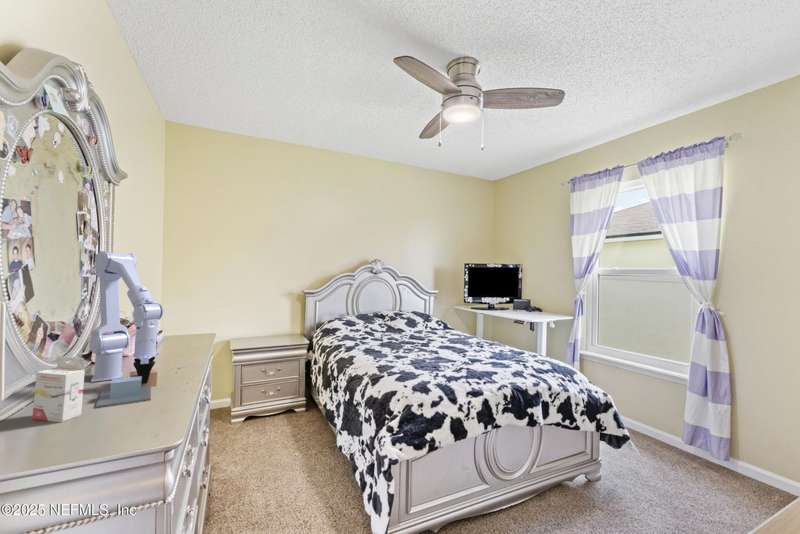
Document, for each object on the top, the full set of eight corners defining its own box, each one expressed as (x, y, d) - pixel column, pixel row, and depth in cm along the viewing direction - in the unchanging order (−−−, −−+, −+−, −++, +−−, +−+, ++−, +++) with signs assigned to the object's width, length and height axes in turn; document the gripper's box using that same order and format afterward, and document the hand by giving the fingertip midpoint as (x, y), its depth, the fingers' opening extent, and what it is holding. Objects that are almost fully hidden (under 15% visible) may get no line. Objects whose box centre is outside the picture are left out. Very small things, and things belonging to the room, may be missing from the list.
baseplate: (101, 393, 103) (101, 391, 103) (150, 387, 110) (150, 385, 110) (95, 408, 91) (95, 405, 91) (150, 400, 99) (150, 398, 99)
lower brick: (111, 394, 100) (112, 379, 100) (140, 390, 104) (141, 376, 105) (109, 399, 97) (110, 383, 97) (140, 395, 101) (141, 379, 101)
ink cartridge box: (30, 420, 83) (35, 359, 83) (52, 412, 88) (57, 355, 88) (61, 423, 82) (66, 361, 83) (82, 415, 87) (87, 357, 88)
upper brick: (129, 385, 110) (130, 372, 111) (155, 382, 115) (156, 369, 115) (129, 389, 107) (130, 375, 107) (156, 385, 112) (157, 372, 112)
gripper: (161, 342, 108) (158, 385, 108) (160, 335, 120) (157, 374, 119) (133, 344, 104) (130, 388, 103) (135, 337, 116) (132, 377, 115)
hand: (143, 381), depth 111 cm, fingers closed on upper brick, 5 cm apart
